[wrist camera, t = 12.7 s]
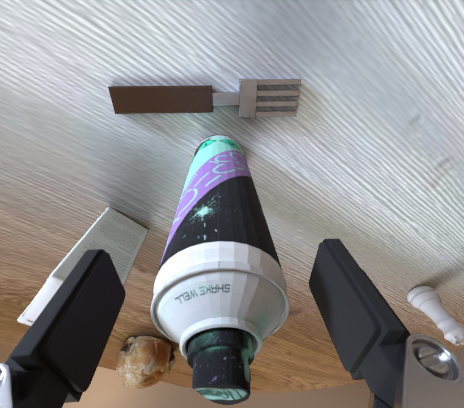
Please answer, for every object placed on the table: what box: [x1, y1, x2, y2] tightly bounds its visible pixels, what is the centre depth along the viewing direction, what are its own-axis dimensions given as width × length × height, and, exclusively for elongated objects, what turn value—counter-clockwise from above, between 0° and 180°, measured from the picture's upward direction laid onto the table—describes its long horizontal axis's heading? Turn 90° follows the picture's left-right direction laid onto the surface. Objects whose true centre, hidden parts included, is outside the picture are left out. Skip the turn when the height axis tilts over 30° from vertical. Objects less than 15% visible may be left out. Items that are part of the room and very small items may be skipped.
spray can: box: [150, 135, 290, 405], centre depth 15 cm, size 6×6×20 cm
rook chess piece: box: [407, 286, 464, 346], centre depth 34 cm, size 4×4×8 cm
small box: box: [17, 207, 148, 326], centre depth 23 cm, size 8×6×10 cm
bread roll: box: [116, 335, 176, 389], centre depth 40 cm, size 10×10×8 cm
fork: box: [108, 79, 301, 118], centre depth 20 cm, size 17×3×1 cm, turn 90°
